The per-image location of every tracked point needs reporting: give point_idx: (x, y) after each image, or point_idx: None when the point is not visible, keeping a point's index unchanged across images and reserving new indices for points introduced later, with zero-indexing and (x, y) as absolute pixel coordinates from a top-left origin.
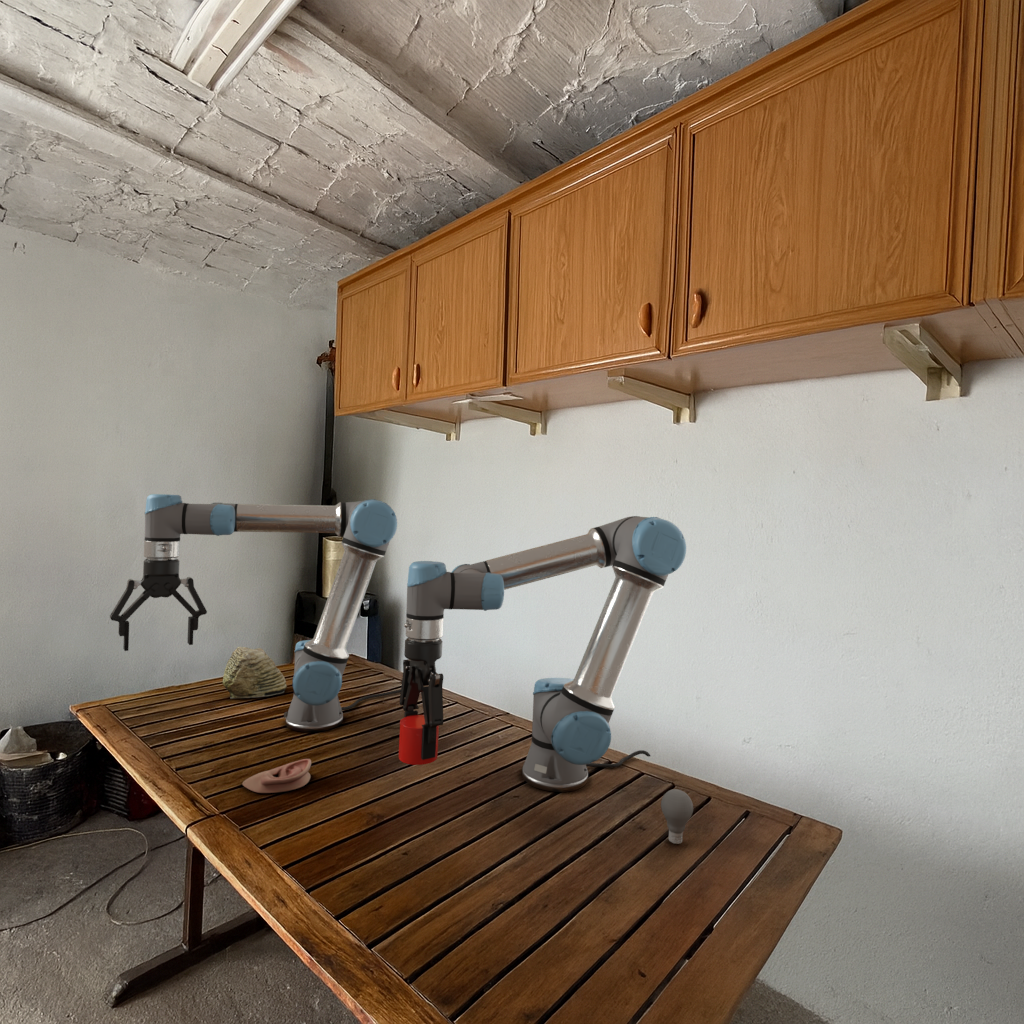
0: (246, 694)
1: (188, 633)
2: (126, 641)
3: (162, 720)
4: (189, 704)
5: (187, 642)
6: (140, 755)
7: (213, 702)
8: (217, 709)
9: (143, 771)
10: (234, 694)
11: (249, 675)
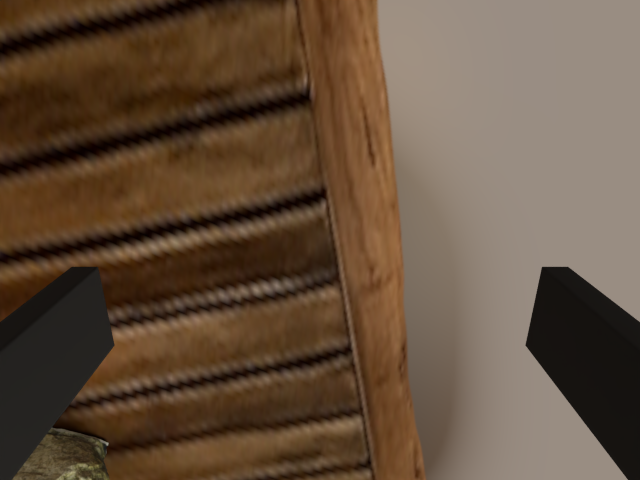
0: (61, 436)
1: (62, 372)
2: (603, 305)
3: (277, 368)
4: (206, 444)
5: (113, 346)
6: (356, 151)
7: (150, 435)
8: (144, 386)
9: (366, 22)
10: (92, 445)
11: (17, 477)
